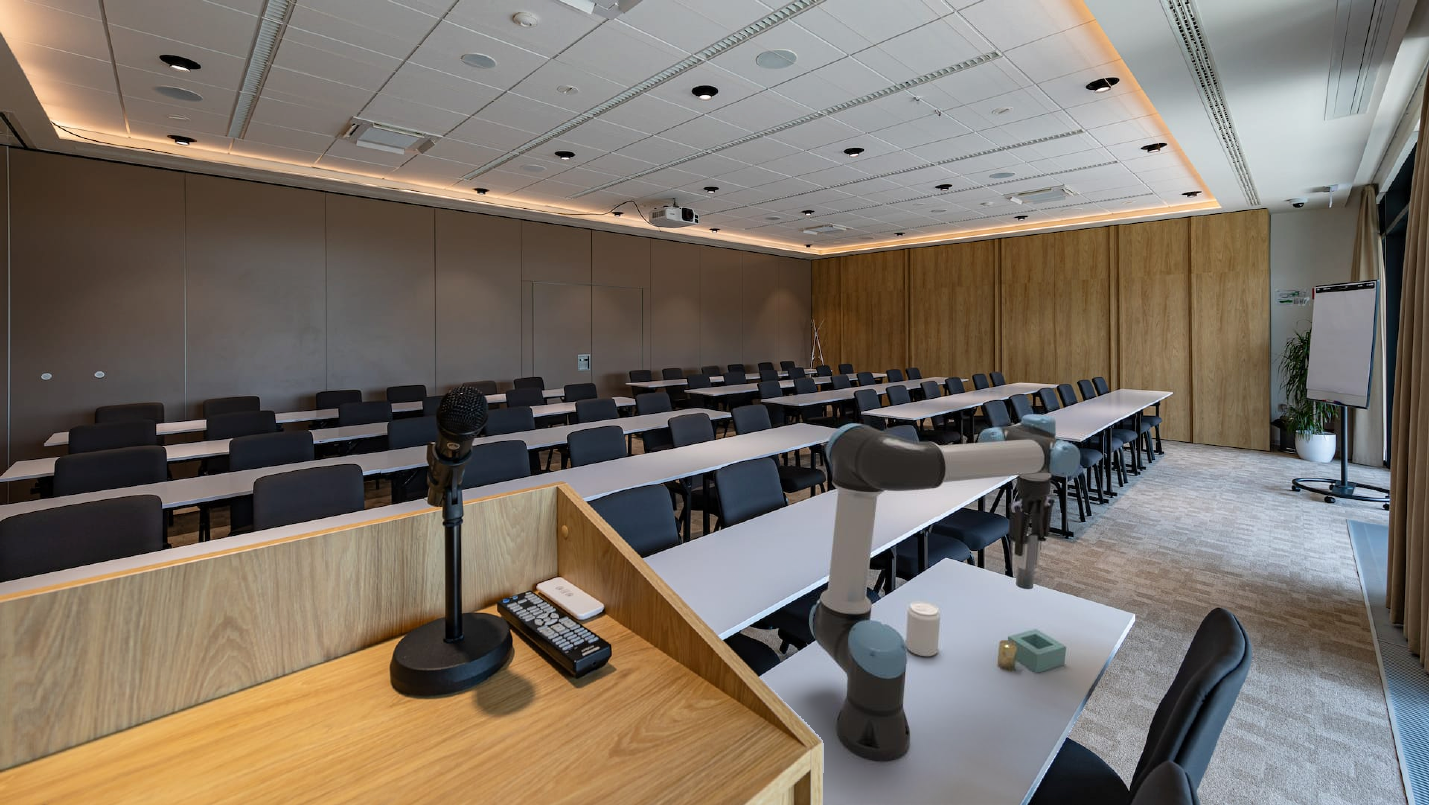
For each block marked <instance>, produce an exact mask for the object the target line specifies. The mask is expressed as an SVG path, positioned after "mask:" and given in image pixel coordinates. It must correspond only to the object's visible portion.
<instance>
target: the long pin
mask: <svg viewBox="0 0 1429 805" xmlns="http://www.w3.org/2000/svg"><path fill="white" fill-rule="evenodd" d="M1020 539H1021V538H1020ZM1037 539H1038V535H1037V534H1036V533H1034V532H1032V531H1029V530H1028V532H1027V537H1026V541H1025V543H1026V544H1028V545H1027V557H1026V568H1025V569H1022V568H1020V567H1017V566H1016V575H1015V576H1016V577H1015V578H1016V579H1015V585H1016V586H1017V587H1018V588H1020V589H1023V590H1032V589H1034V584H1035V583H1034V582H1035V574H1036V573H1035V572H1036V565H1035V562H1036V550H1037Z"/></svg>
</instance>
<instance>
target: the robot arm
mask: <svg viewBox="0 0 1429 805" xmlns="http://www.w3.org/2000/svg"><path fill="white" fill-rule="evenodd" d="M1056 426H1057V425H1056V419H1055V418H1053V417H1052V416H1049V415H1045V414H1037V413H1034V414H1033V413H1032V414H1031V413H1030V414H1025V415H1023V416H1022V417H1021V421H1020V424H1018V425H1010V426H994V427H990V428H985V429H983V430H982V431H981V432H980V434H979V435H978V439H977V442H974V443H973V442H972V443H971V442H970V443H959V444H945V445H938V444H937V443H935V442H933V441H915V440H910V439H906V438H903V437H899V436H896V435H894V434H890V433H887V432H885V431H882V430H879V429H876V428H874V427H872V426H870V425H868V424H867V425H866V424H862V423H857V422H856V423H848V424H847V423H846V424H845V425H842V426H841V427H838V429H836V431H834V432H833V433H832V435H830V437H829V439H828V441H827V444H826V447H825V448H826V449H825V451H826V452H825V453H826V459H827V461H828V462H829V464H830V466H832V468H833V470H832V471H833V472H832V481H831V483H832V485H833V486H834V488H835V489H836V490H837V500H836V506H835V507H836V508H835V509H836V510H835V516H834V517H835V518H834V528H833V535H832V536H833V537H832V546H831V557H830V565H829V566H830V567H829V574H828V585H827V589H825V590H824V591H823V592H821V594H820V598H819V599H817V601H816V604H813V606H812V607H811V610H810V611H809V612H810V613H809V617H808V621H809V622H808V624H809V629H810V632H811V634H812V636H813V638H814V639H815V641H816V642H817V644H818V646H820V647H821V649H823V650H824V651H825V652H826V653H827V654H828V655H829V656H830V657H831V659H832V660H834V662H835V663H836V664H837V665H838V666H839V667H840V668H841V669H842V671H843V672H844V673H845V674H846V680H847V681H846V683H847V684H846V696H845V699H844V702H843V705H842V708H841V710H840V711H839V713H838V716H837V719H836V733H837V737H838V739H839V741H840V742H841V743H842V745H844V747H845V748H846V749H848V750H849V751H850V752H852V753H854V754H856V755H857V756H859V757H862V758H864V759H867V760H872V761H882V762H884V761H892V760H896V759H898V758H900V757H902V756H903V755H905V754H906V753H907V751H908V750H909V748H910V743H911V731H910V726H909V723H908V719H907V715H906V712H905V709H904V698H905V684H906V672H907V664H908V658H907V647H906V641H905V639H904V638H903V636H902V635H901V633H899V631H897V629H895V628H893V627H892V626H891V625H889V624H887V623H886V624H882V622H881V621H878V620H871V616H872V606H873V605H872V602H871V600H870V598H868V597H867V590H868V589H867V588H868V582H869V574H870V572H869V571H870V564H871V563H870V562H871V555H872V545H873V537H874V527H875V520H876V509H877V502H878V497H879V495H881V494H882V493H885V491H887V492H889V491H891V492H907V491H921V490H923V491H924V490H929V489H931V490H932V489H937V488H939V487H941V486H942V485H943V483H948V482H958V481H959V482H960V481H961V482H962V481H972V480H980V479H982V480H983V479H991V478H1002V477H1013V476H1016V486H1015V488H1016V491H1017V492H1018V496H1017V500H1016V502H1014V503H1011V502H1010V503H1009V504H1008V510H1009V523H1008V540H1009V541H1010V542H1011V541H1012V542H1013V543H1014V551H1013V553H1014V555H1015V556H1014V564H1013V565H1014V566H1015V567H1016V568H1017V567H1020V568H1022V569H1025V568H1026V557H1027V545H1028V544H1026V543H1025V541H1026V537H1027V532H1028V531H1029V527H1030V526H1031V527H1030V528H1031V532H1034V533H1036V534H1037V535H1038V539H1037V550H1036V562H1035V567H1037V566H1039V565H1040V555H1041V554H1040V553H1041V549H1042V542H1046V541H1047V537H1049V535H1050V530H1051V528H1050V527H1051V518H1052V512H1053V511H1052V510H1053V507H1054V505H1055V499H1053V498H1049V497H1047V496H1048V495H1049V494H1050V493H1051V488H1052V487H1051V485H1052V484H1051V483H1052V480H1051V478H1052V476H1054V477H1062V478H1066V477H1070V476H1072V475H1073V474H1074V473H1076V472H1077V471H1078V469H1079V467H1080V463H1081V462H1080V461H1081V453H1080V450H1079V448H1078V447H1077V446H1076V445H1075V444H1073V443H1070V442H1067V441H1065V440H1064V439H1056V436H1057V433H1056V428H1057V427H1056ZM1030 523H1031V524H1030ZM1020 538H1021V539H1020Z"/></svg>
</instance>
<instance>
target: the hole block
mask: <svg viewBox="0 0 1429 805" xmlns="http://www.w3.org/2000/svg"><path fill="white" fill-rule="evenodd" d="M1007 641H1011V642H1013V643H1015V644H1016V645H1017V651H1016V661H1017V662H1018V663H1019V664H1021V665H1022V666H1025V667H1026V668H1027V669H1029V670H1031V671H1032V672H1033V673H1035V674H1037V673H1038V674H1039V673H1041V672H1044V671H1047V670H1050V669H1053V668H1057V667H1061V666H1063V665H1065V663H1066V662H1065V661H1066V652H1067V646H1066V645H1065V644H1063V643H1061V642H1059V641H1057V639H1054V638H1052V637H1051V636H1050V635H1048V634H1046V633H1044V632H1042V631H1041V630H1039V629H1037V628H1034V629H1029V630H1027V631H1023V632H1019V633H1015V634H1012V635H1008V636H1007Z"/></svg>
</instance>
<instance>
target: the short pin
mask: <svg viewBox="0 0 1429 805" xmlns="http://www.w3.org/2000/svg"><path fill="white" fill-rule="evenodd" d="M998 644H999V645H998V656H997V667H998V668H1000V669H1001V670H1003V671H1007V672H1012V671H1015V669H1016V661H1017V660H1016V651H1017V645H1016V644H1015V643H1013V642H1011V641H1008V639H1006V640H1005V639H1003V640H1000V641H999V642H998Z"/></svg>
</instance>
